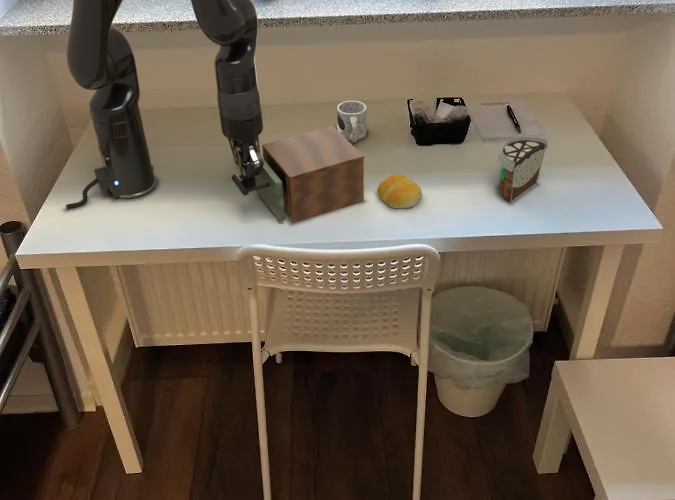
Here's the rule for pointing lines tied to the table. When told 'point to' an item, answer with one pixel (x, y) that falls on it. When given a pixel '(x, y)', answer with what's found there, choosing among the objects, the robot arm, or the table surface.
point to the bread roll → (399, 191)
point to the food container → (520, 165)
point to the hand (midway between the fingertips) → (249, 188)
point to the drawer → (269, 187)
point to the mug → (351, 120)
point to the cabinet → (319, 172)
